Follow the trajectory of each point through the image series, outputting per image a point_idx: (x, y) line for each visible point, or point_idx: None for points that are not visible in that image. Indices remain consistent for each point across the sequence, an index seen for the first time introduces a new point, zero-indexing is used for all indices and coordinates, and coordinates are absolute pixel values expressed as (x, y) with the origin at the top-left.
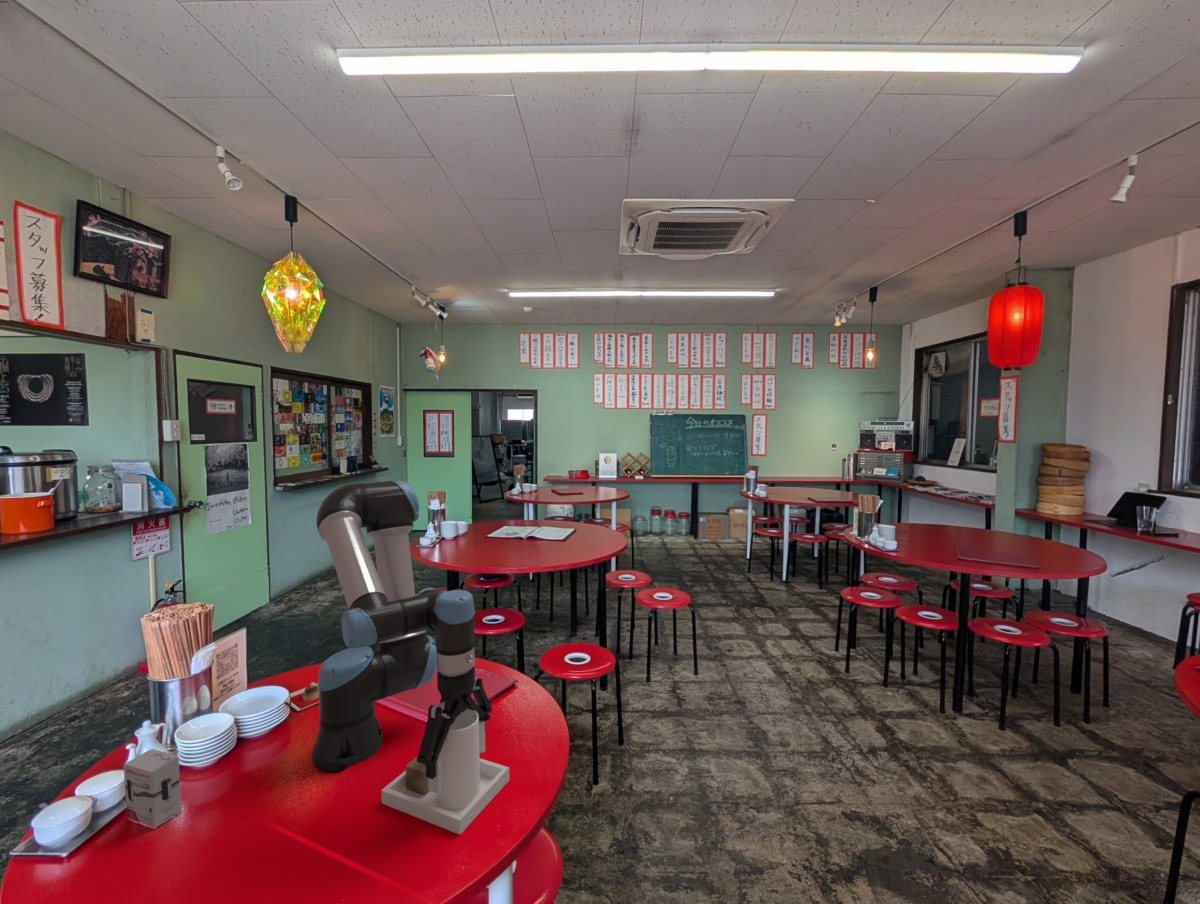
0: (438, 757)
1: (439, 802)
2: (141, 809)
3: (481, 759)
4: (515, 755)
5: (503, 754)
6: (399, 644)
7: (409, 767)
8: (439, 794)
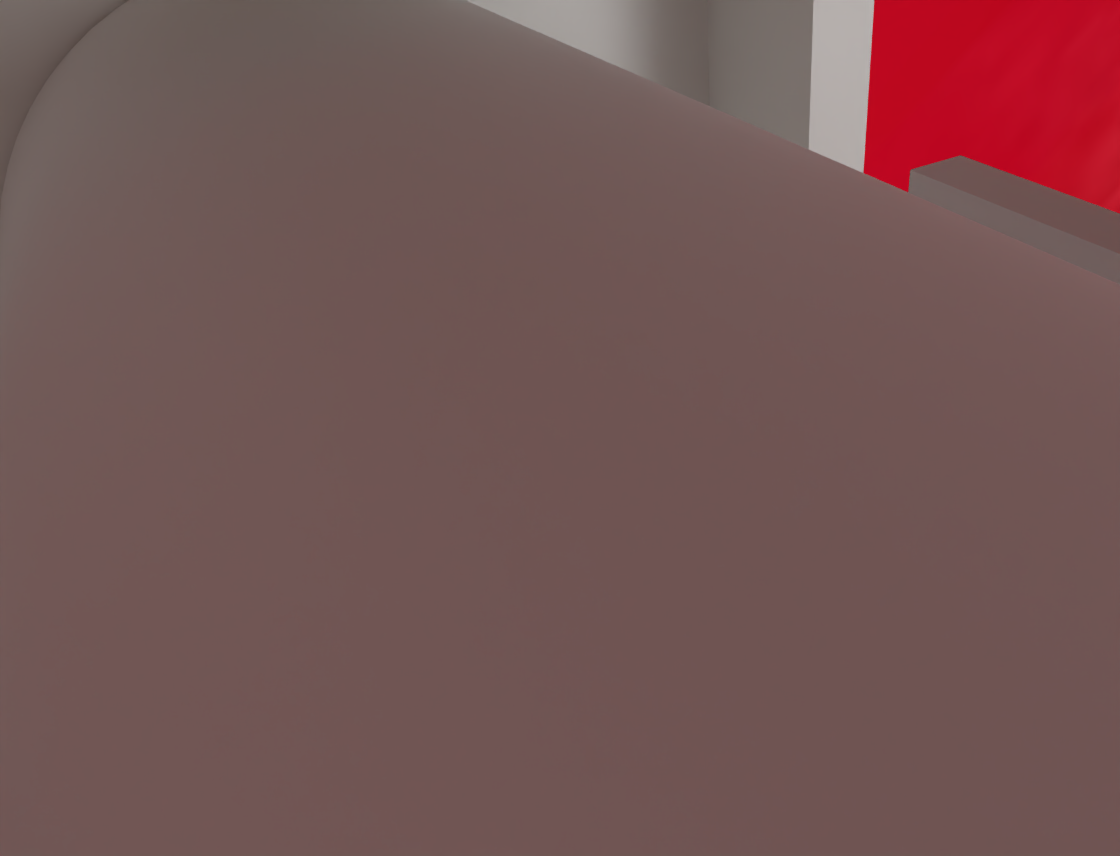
0: (25, 574)
1: (8, 158)
2: None
3: (854, 168)
4: (1070, 171)
5: (1064, 43)
6: None
7: None
8: (9, 203)
